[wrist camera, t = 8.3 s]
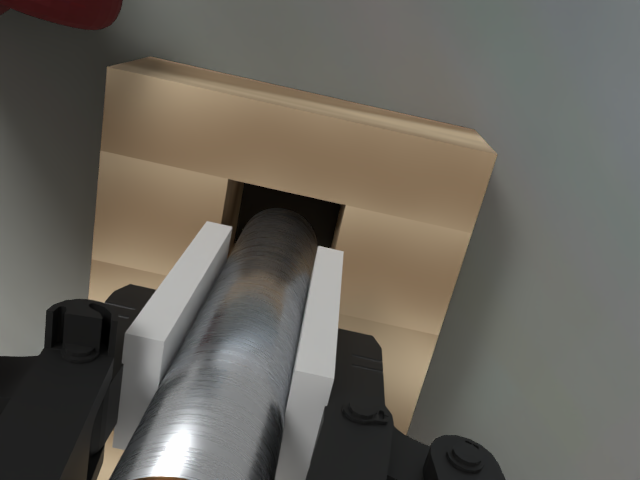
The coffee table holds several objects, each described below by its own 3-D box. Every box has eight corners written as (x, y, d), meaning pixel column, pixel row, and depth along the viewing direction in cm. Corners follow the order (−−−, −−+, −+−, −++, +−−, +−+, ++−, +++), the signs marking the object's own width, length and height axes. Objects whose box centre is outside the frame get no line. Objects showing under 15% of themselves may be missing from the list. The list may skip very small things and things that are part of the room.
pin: (247, 200, 20) (40, 546, 7) (324, 217, 20) (258, 592, 7) (235, 270, 21) (33, 690, 8) (309, 286, 21) (225, 730, 8)
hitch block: (150, 56, 22) (107, 66, 18) (474, 129, 22) (497, 154, 18) (90, 619, 33) (55, 698, 29) (310, 664, 33) (304, 749, 29)
